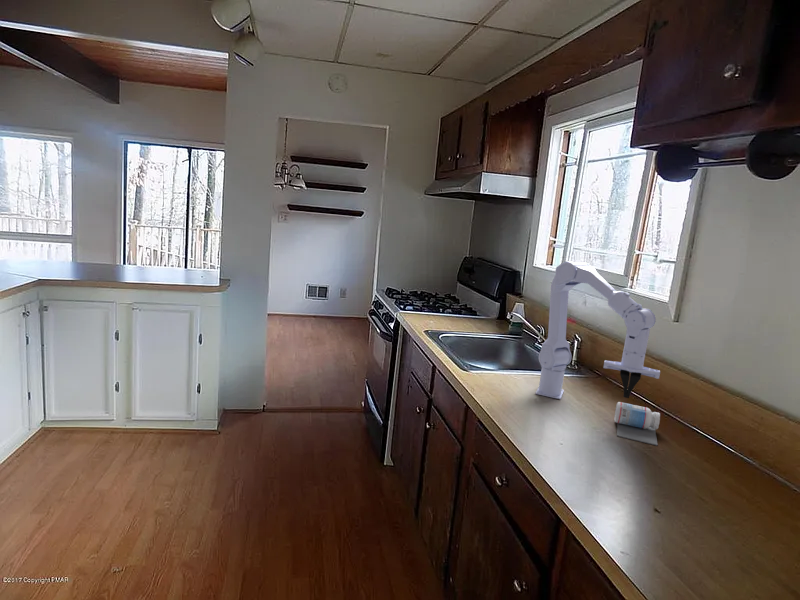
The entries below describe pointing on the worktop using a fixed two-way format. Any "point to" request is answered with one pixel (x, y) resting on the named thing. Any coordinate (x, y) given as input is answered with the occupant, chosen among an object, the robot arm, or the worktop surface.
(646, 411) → the pill bottle
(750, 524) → the worktop surface
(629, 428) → the mat
